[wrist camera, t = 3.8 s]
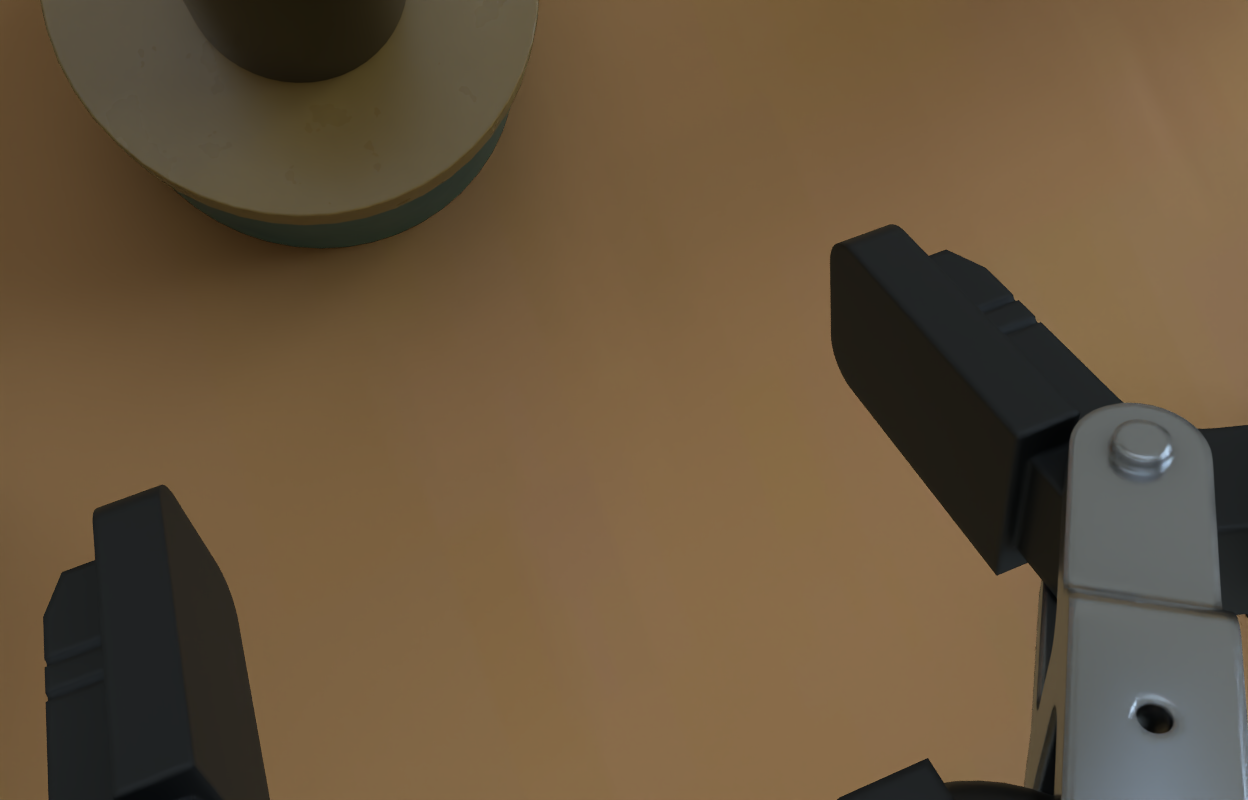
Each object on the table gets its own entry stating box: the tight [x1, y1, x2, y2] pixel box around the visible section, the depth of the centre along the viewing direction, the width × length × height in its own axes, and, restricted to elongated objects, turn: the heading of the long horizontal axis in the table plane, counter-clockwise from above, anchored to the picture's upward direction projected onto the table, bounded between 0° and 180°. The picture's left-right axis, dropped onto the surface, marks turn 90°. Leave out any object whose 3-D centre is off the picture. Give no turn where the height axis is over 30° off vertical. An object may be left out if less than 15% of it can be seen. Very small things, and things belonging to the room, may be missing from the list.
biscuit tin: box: [40, 0, 539, 248], centre depth 33 cm, size 12×12×6 cm
